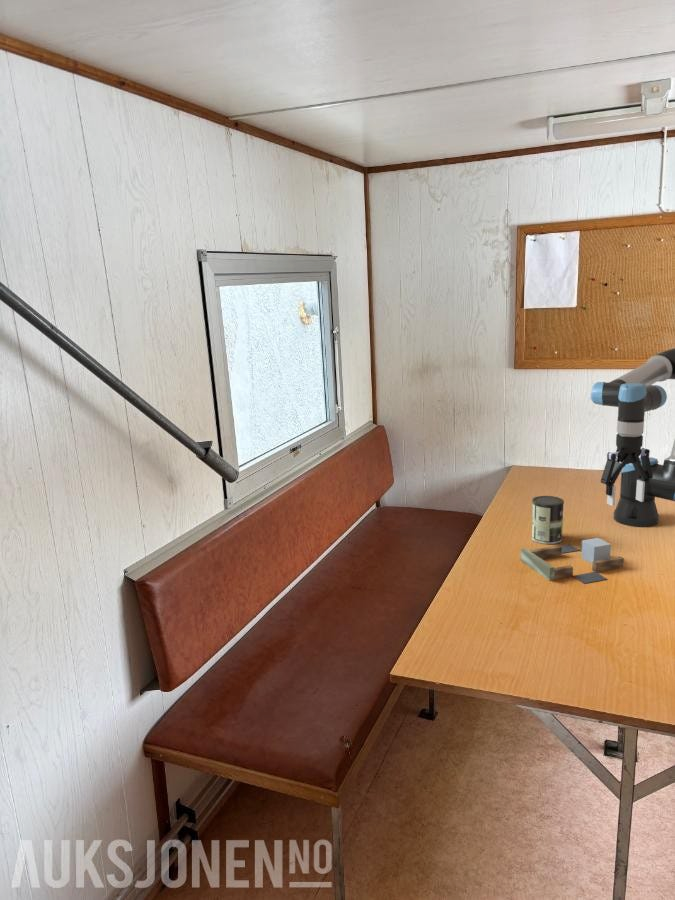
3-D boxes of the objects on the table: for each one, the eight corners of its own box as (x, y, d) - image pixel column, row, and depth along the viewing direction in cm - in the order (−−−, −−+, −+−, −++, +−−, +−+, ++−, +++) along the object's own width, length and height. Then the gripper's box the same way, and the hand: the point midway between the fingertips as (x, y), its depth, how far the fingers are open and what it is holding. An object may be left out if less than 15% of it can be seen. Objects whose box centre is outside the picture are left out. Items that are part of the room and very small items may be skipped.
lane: (590, 548, 221) (590, 537, 220) (623, 567, 206) (623, 555, 205) (520, 560, 214) (520, 548, 213) (549, 580, 199) (549, 568, 198)
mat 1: (569, 544, 225) (569, 544, 225) (579, 550, 220) (579, 550, 220) (548, 548, 223) (548, 547, 223) (558, 554, 218) (558, 553, 218)
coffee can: (560, 534, 235) (562, 495, 231) (563, 545, 225) (565, 505, 222) (530, 532, 237) (531, 495, 234) (532, 543, 227) (533, 504, 224)
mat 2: (595, 572, 203) (595, 571, 203) (607, 579, 198) (607, 578, 198) (572, 576, 201) (572, 575, 201) (584, 583, 196) (584, 583, 196)
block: (597, 555, 216) (598, 537, 215) (609, 562, 210) (610, 544, 209) (581, 557, 214) (582, 540, 213) (593, 564, 209) (594, 547, 207)
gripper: (651, 428, 212) (646, 494, 217) (590, 435, 206) (586, 503, 211) (669, 432, 205) (663, 501, 210) (606, 440, 199) (602, 510, 204)
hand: (625, 502), depth 211 cm, fingers open, 10 cm apart
